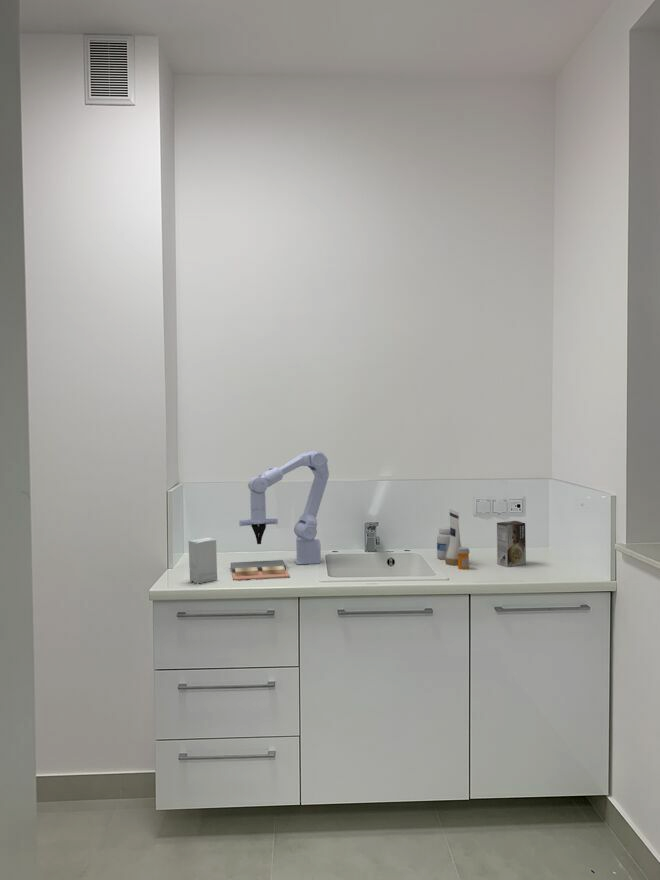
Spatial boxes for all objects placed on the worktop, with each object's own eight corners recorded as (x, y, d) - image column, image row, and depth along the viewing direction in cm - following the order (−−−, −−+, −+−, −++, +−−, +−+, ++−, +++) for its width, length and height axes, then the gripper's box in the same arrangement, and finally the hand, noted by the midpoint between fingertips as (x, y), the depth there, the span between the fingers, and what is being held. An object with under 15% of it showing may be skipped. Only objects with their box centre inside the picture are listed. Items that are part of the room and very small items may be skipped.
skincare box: (209, 577, 253) (208, 536, 252) (218, 580, 248) (217, 538, 247) (188, 581, 247) (187, 539, 247) (196, 584, 243) (196, 541, 242)
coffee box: (515, 561, 273) (515, 520, 273) (526, 564, 267) (526, 522, 267) (496, 564, 269) (496, 522, 269) (507, 567, 263) (507, 524, 263)
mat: (286, 571, 261) (286, 569, 261) (290, 577, 251) (289, 575, 251) (232, 574, 257) (232, 572, 257) (233, 580, 247) (233, 579, 247)
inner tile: (283, 570, 260) (283, 565, 260) (285, 573, 255) (285, 569, 255) (261, 571, 259) (261, 567, 259) (263, 574, 253) (263, 570, 253)
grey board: (282, 565, 272) (282, 559, 272) (286, 571, 261) (286, 565, 261) (230, 567, 268) (230, 562, 268) (232, 574, 257) (232, 568, 257)
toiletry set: (434, 557, 284) (433, 506, 283) (452, 556, 285) (451, 505, 285) (455, 570, 260) (455, 515, 259) (475, 569, 261) (474, 514, 260)
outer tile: (256, 571, 259) (256, 567, 259) (258, 575, 253) (258, 570, 253) (235, 572, 257) (235, 568, 257) (235, 576, 251) (235, 571, 251)
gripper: (239, 510, 263) (240, 546, 263) (278, 508, 266) (279, 544, 266) (238, 508, 270) (239, 543, 270) (276, 506, 273) (276, 541, 273)
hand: (259, 543), depth 269 cm, fingers closed
